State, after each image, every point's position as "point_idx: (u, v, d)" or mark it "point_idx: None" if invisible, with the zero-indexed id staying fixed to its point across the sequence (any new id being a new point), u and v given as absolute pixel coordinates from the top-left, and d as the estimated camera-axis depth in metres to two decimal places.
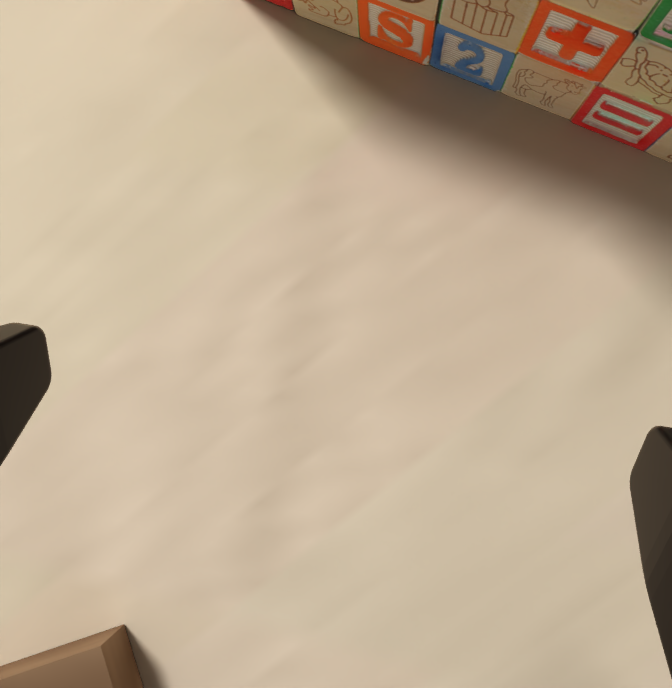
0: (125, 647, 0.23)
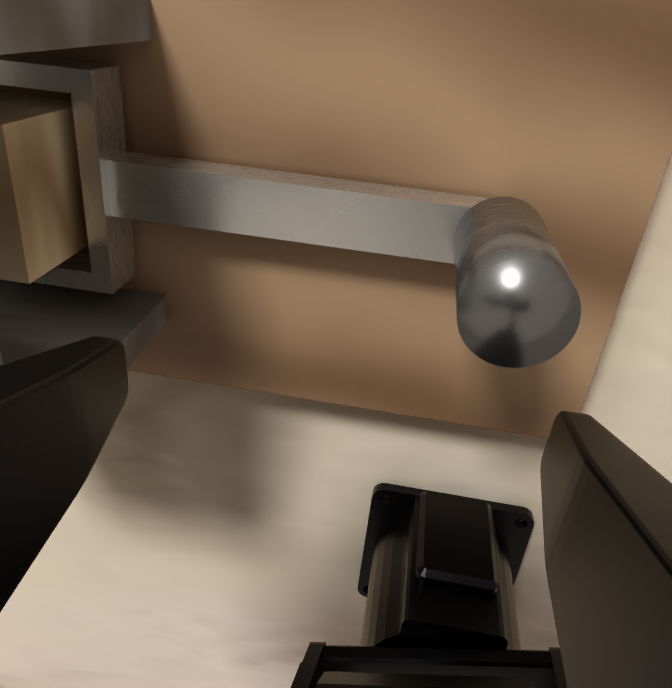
0: None
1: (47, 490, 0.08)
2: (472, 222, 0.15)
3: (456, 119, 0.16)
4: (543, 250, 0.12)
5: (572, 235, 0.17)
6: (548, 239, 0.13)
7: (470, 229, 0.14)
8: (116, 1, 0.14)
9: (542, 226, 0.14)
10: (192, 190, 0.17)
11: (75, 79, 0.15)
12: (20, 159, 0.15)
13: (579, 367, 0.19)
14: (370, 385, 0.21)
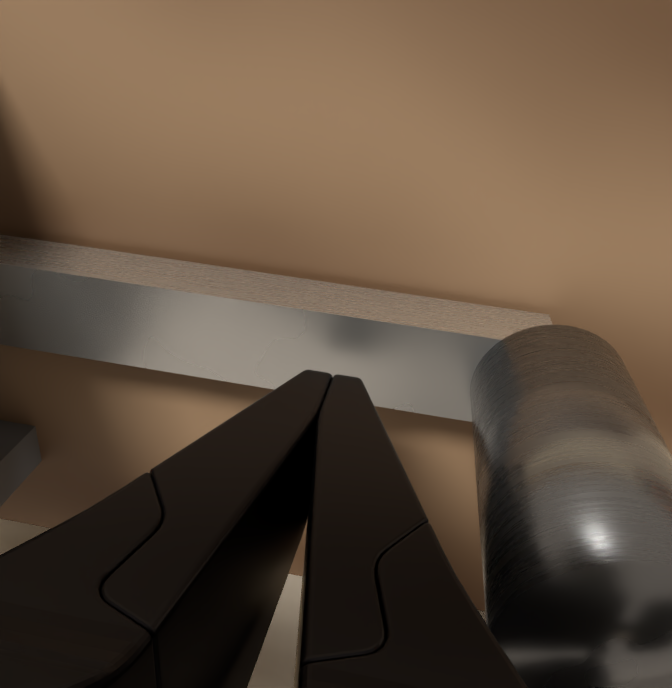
0: None
1: (291, 536, 0.07)
2: (507, 383, 0.08)
3: (467, 186, 0.10)
4: None
5: (652, 367, 0.11)
6: (662, 449, 0.07)
7: (505, 402, 0.08)
8: None
9: (638, 401, 0.08)
10: (44, 298, 0.10)
11: None
12: None
13: None
14: None
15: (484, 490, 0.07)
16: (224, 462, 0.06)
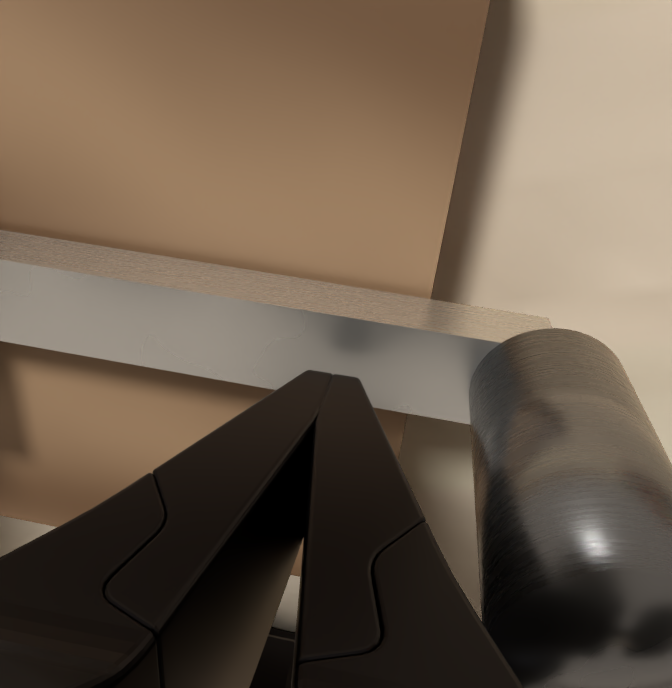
0: None
1: (293, 536, 0.07)
2: (507, 387, 0.08)
3: (117, 137, 0.10)
4: None
5: None
6: (661, 455, 0.07)
7: (504, 406, 0.08)
8: None
9: (637, 406, 0.08)
10: (42, 294, 0.10)
11: None
12: None
13: None
14: (93, 506, 0.15)
15: (482, 494, 0.07)
16: (226, 462, 0.06)
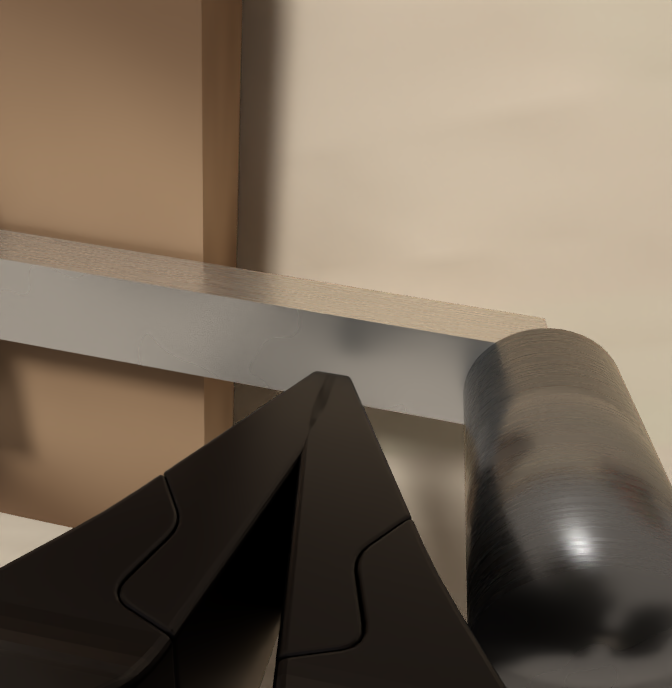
0: None
1: None
2: (498, 387, 0.08)
3: None
4: (657, 519, 0.06)
5: None
6: (650, 455, 0.07)
7: (495, 405, 0.08)
8: None
9: (629, 406, 0.08)
10: (41, 293, 0.10)
11: None
12: None
13: None
14: None
15: (471, 493, 0.07)
16: (237, 464, 0.06)
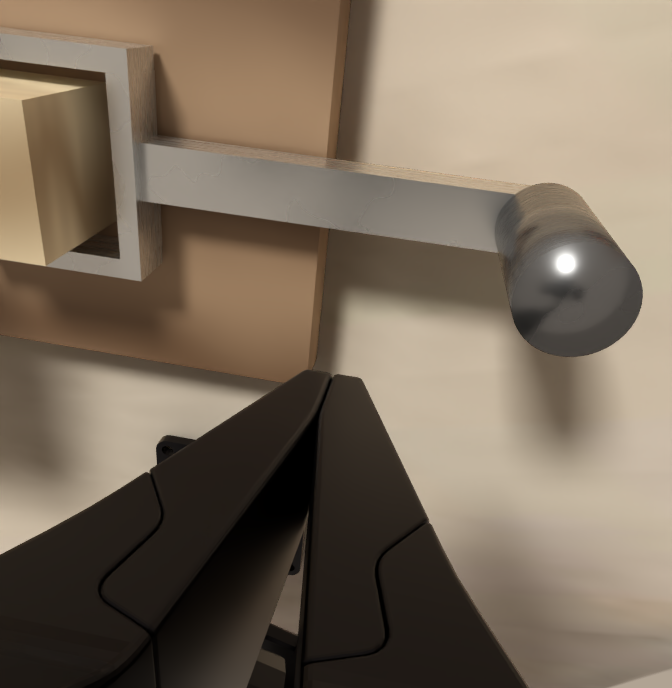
0: None
1: (291, 535, 0.07)
2: (519, 208, 0.14)
3: None
4: (602, 235, 0.12)
5: None
6: (602, 225, 0.13)
7: (518, 215, 0.14)
8: None
9: (592, 213, 0.14)
10: (227, 174, 0.16)
11: (110, 58, 0.15)
12: (38, 136, 0.14)
13: (297, 310, 0.20)
14: (113, 330, 0.21)
15: (507, 253, 0.13)
16: (223, 462, 0.06)
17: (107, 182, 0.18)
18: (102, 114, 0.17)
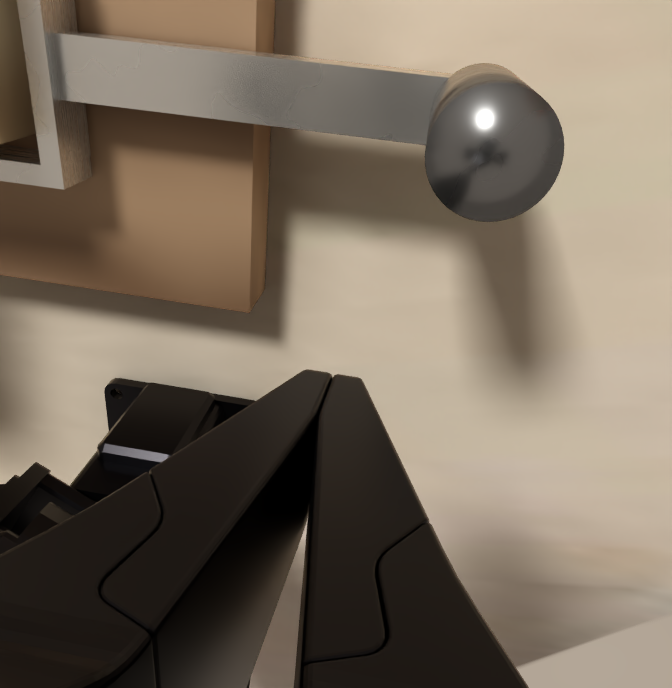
0: None
1: (291, 536, 0.07)
2: (448, 83, 0.13)
3: None
4: (522, 83, 0.11)
5: None
6: None
7: (445, 88, 0.13)
8: None
9: None
10: (147, 66, 0.15)
11: None
12: None
13: (235, 227, 0.19)
14: (47, 255, 0.20)
15: (429, 122, 0.12)
16: (224, 462, 0.06)
17: (28, 85, 0.17)
18: None
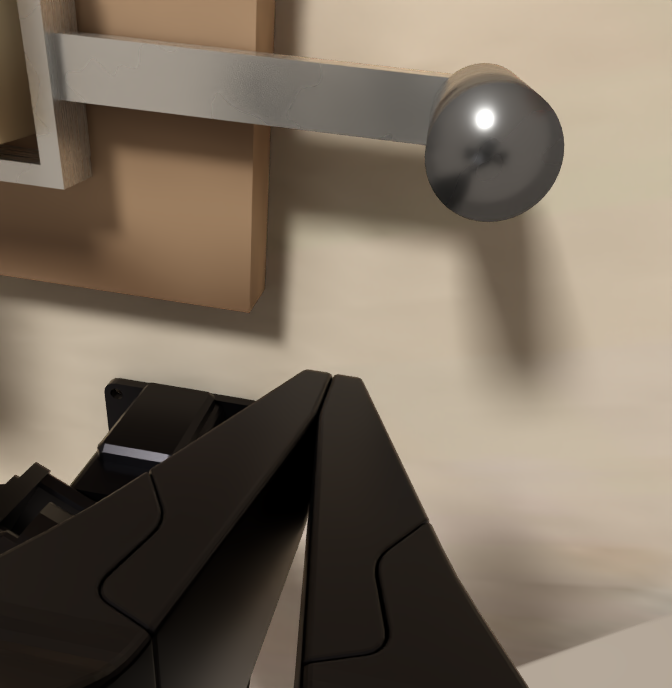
0: None
1: (291, 536, 0.07)
2: (448, 83, 0.13)
3: None
4: (522, 83, 0.11)
5: None
6: None
7: (445, 88, 0.13)
8: None
9: None
10: (147, 66, 0.15)
11: None
12: None
13: (235, 227, 0.19)
14: (47, 255, 0.20)
15: (429, 122, 0.12)
16: (224, 462, 0.06)
17: (28, 85, 0.17)
18: None
